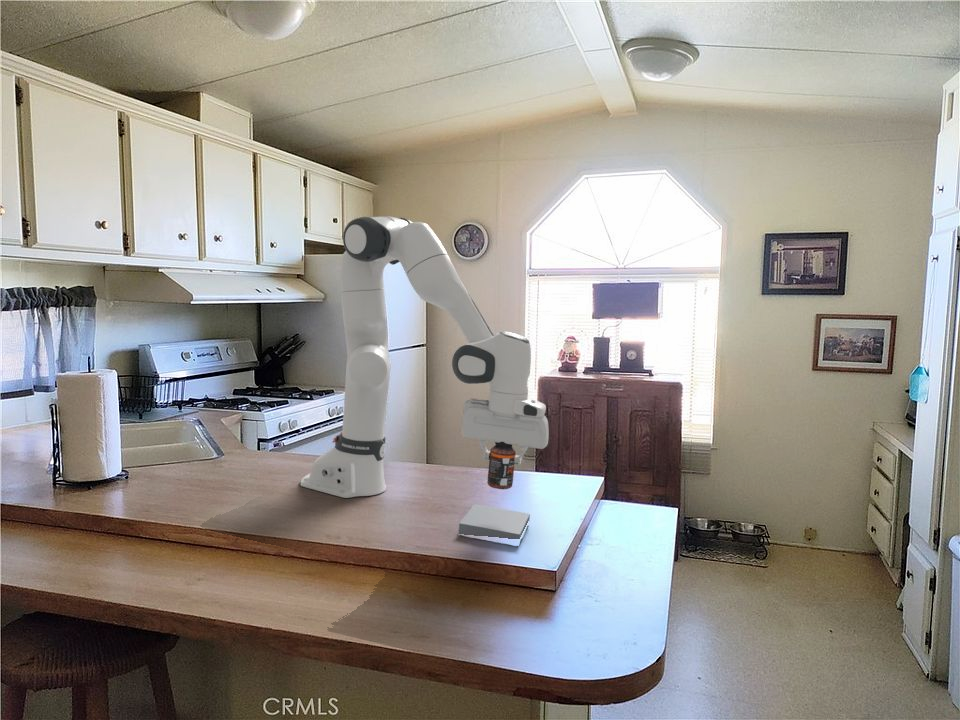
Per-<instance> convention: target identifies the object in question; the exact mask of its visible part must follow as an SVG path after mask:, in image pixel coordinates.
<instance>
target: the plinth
mask: <svg viewBox="0 0 960 720" xmlns="http://www.w3.org/2000/svg"><path fill="white" fill-rule="evenodd" d="M530 515H531V513H529V512H527V513H526V512H521V511H515V510H511V509H505V508H499V507H493V506H488V505H483V504H477V503H474V504H473V505H472V506H471V508H470V509H469V510H468V512H467V513H466V514H465V515H464V517H463V518H462V519H461V520H460V522H459V524H458V525H459V526H458V534H464V535H474V536H488V537H499V538H508V539H520V537H521V535H522V533H523V531H524V529H525V527H526V525H527V523H528V521H529V522H530V518H531V516H530ZM458 534H457V535H458Z"/></svg>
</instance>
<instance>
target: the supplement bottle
mask: <svg viewBox="0 0 960 720" xmlns="http://www.w3.org/2000/svg"><path fill="white" fill-rule="evenodd" d="M494 444H495V445H493V446H492V447H491V448H490V450H489V451H490V459H489V460H488V461H489V463H488V469H487V471H488V473H487V482H486V483H487V485H488V486H489V487H490V488H493V489H498V490H509V489H511V488H512V487H513V483H514V472H515V465H516V464H514V461H515V460H514V457H515V455H517V454H516V449H514V447H513V445H511V444H506V443H504V442H499V443H498V442H494Z"/></svg>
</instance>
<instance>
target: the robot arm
mask: <svg viewBox="0 0 960 720" xmlns="http://www.w3.org/2000/svg"><path fill="white" fill-rule="evenodd" d="M342 243H343V247H344V249H345V251H344V252H343V254H342V256H341V260H340V261H341V262H340V271H339V272H340V273H339V275H340V278H339V282H340V287H339V288H340V297H341V299H340V300H341V308H342V309H341V310H342V320H343V328H344V336H345V343H346V344H345V345H346V354H347V355H346V356H347V360H346V364H345V365H346V369H345V382H344V383H345V385H344V403H343V416H342V420H343V421H342V427H341V428H342V429H341V431H342V432H340V433H339V434H337V435H336V436H335V437H334V438H332V443H333V444H335V445H334V447H332V448H331V449H329V450H328V451H326V452H325V453H323V454H322V455H320V456H318V457H317V458H316V459H315V460H314V461H313V463H312V465H311V468H310V472H309V473H308V474H307V475H304V476H303V477H302V478H301V480H300V486H301V487H303V488H307V489H311V490H314V491H318V492H322V493H325V494H329V495H332V496H336V497H340V498H345V499H349V498H354V497H355V498H356V497H368V496H369V497H370V496H375V495H379V494H381V493H383V492H385V491H386V490H387V484H386V481H385V472H384V458H385V453H386V436H385V433H386V432H385V430H386V416H387V405H388V396H389V388H390V387H389V385H390V377H391V361H390V351H389V349H390V348H389V338H388V326H387V325H388V321H387V307H386V298H385V297H386V296H385V295H386V293H385V285H384V270H385V267H386V266H387V265H388V264H390V265H396V264H398V263H400V265H401V266H402V268H403V270H404V273H405V275H406V277H407V279H408V282H409V283H410V286H411V287H412V288H413V290H414V291H415V293H416V294H417V295H418V297H419V298H420V299H421V300H422V301H424V302H426V303H428V304H431V305H432V306H435V307H437V308H439V309H441V310H443V311H444V312H446V313H448V315H450V316H451V317H452V318H453V319H454V321H455V322H456V323H457V325H458V327H459V329H460V330H461V332H462V334H463V336H464V337H465V339H466V341H467V342H468V343H466V344H464V345H462V346H459V347H458V348H457V349H456V350H455V352H454V354H453V356H452V359H451V367H452V371H453V374H454V375H455V377H456V378H457V379H458V380H459V381H460V382H462V383H464V384H467V385H479V384H487V385H489V393H488V399H478V398H470V399H468V400H465V401H464V403H463V407H462V413H463V419H462V424H461V431H460V433H461V435H462V437H463V438H466V439H470V440H471V439H472V440H478V441H479V447H480V448H481V451H482V452H483V454H482V459H483V460H487V461H489V460H490V451H491V450H488V448H487V444H488V442H492V443H495V442H498V443H499V442H504V443H506V444H511V445H512V446H519V447H520V448H519V451H521V452H520V453H519V455H518V454H516V455H515V457H514V460H515V461H514V464H515V465H519V466H520V465H522V457H523V456H524V454H525V453H526V452H527V451H528V448H533V449H537V450H538V449H539V450H543V449H545V448H546V447H547V446H548V445H549V435H550V434H549V432H550V431H549V429H550V428H549V421H548V418H547V417H546V415H545V414H546V412H547V411H546V410H547V406H546V404H545V403H543V402H541V401H538V400H536V399H534V398H532V397H529V395H528V394H529V388H528V387H529V386H528V380H529V377H530V374H531V363H532V361H531V360H532V350H531V349H532V348H531V343H530V341H529V339H528V338H527V337H525V336H524V335H521V334H519V333H515V332H510V331H499V332H497V333H496V334H495V335H494V333H493V332H492V330H491V328H490V326H489V325H488V323H487V321H486V320H485V318H484V316H483V315H482V313H481V312H480V309H479V308H478V306H477V305H476V302H475V301H474V299H473V298H472V297H471V295H470V293H469V292H468V290H467V288H466V287H465V285H464V284H463V282H462V280H461V277H460V276H459V274H458V272H457V270H456V268H455V266H454V264H453V263H452V261H451V258H450V256H449V254H448V252H447V250H446V248H445V247H444V245H443V243H442V242H441V240H440V239H439V237H438V236H437V234H435V232H434V230H433V229H432V228H431V227H430V226H429V224H427V223H425V222H422V221H414V222H413V221H411V220H409V219H407V218H403V217H395V216H389V215H385V216H384V215H381V216H370V217H369V216H361V217H356V218H354V219H352V220H351V221H349V222H348V223H347V224H346V226H345V227H344V230H343V235H342Z"/></svg>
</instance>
